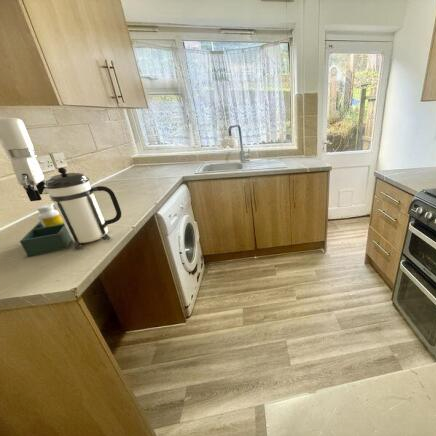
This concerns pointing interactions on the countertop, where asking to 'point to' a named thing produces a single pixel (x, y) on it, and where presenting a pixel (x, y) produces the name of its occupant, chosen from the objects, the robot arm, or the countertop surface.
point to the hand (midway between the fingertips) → (40, 197)
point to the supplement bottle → (49, 216)
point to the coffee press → (80, 206)
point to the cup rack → (45, 239)
